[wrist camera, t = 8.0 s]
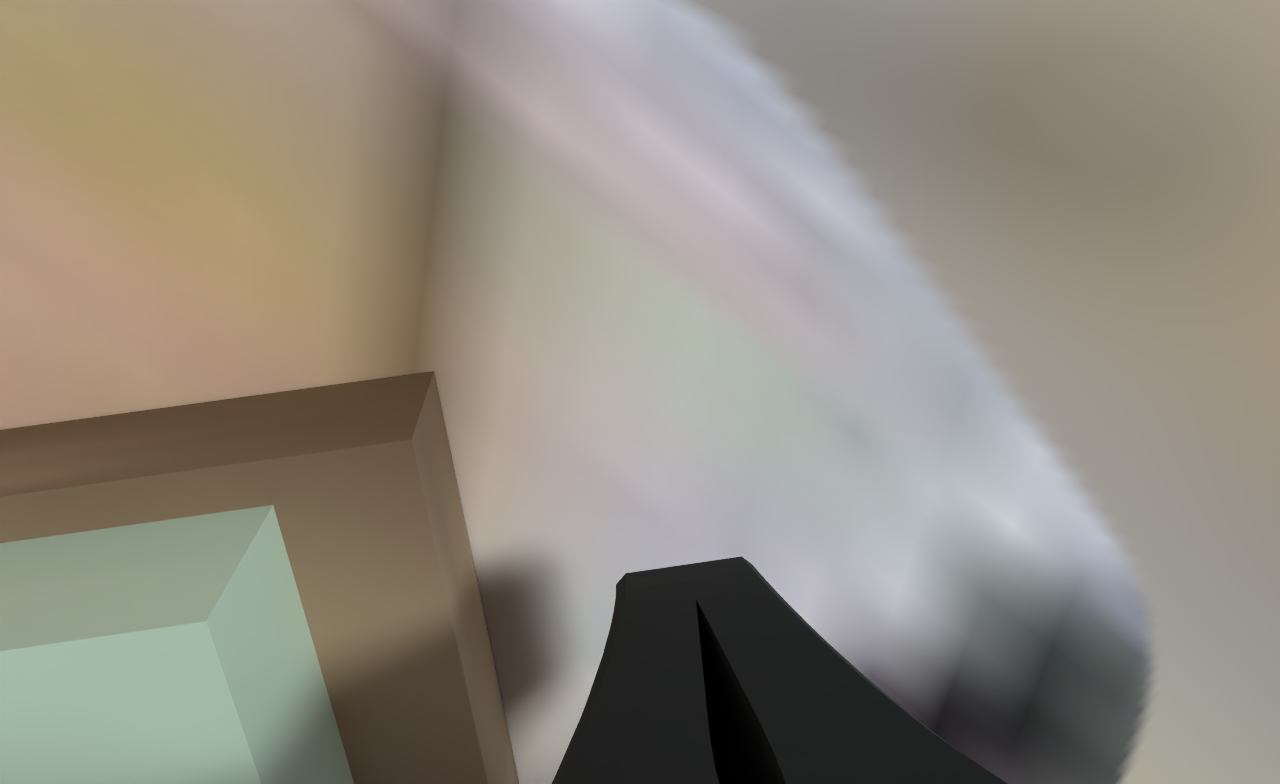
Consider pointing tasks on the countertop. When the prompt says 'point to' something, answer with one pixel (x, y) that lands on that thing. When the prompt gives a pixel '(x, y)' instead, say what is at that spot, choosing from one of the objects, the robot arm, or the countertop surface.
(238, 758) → the green tile
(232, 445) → the walnut board
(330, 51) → the countertop surface
